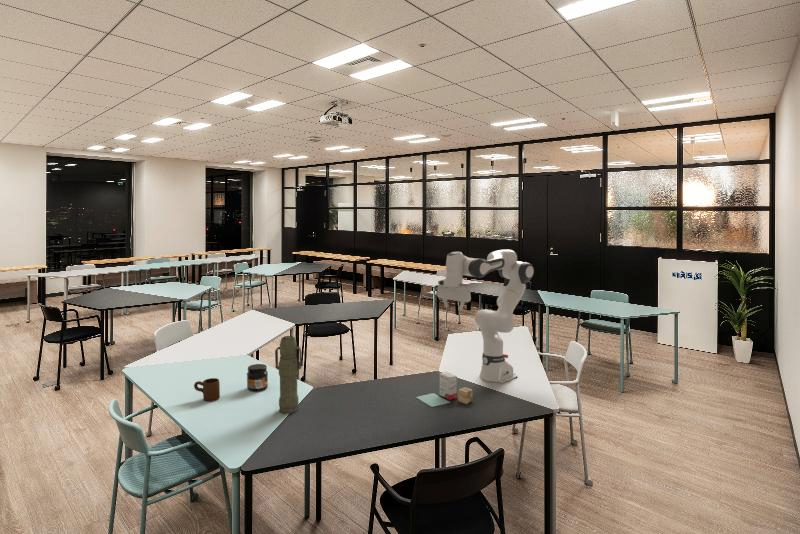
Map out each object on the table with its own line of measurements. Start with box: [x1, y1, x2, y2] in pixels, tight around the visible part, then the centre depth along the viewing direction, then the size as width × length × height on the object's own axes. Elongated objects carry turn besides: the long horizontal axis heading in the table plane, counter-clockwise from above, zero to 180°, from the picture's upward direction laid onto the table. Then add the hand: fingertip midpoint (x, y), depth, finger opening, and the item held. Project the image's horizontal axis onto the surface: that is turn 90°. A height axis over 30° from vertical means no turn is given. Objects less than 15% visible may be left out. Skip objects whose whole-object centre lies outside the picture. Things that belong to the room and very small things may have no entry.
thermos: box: [274, 335, 302, 415], centre depth 213 cm, size 9×12×35 cm
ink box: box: [439, 371, 458, 401], centre depth 233 cm, size 9×5×12 cm, turn 34°
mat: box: [415, 392, 451, 408], centre depth 229 cm, size 11×14×1 cm
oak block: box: [457, 386, 473, 405], centre depth 228 cm, size 5×5×6 cm
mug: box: [193, 377, 221, 403], centre depth 226 cm, size 12×8×9 cm, turn 96°
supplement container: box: [246, 363, 269, 393], centre depth 241 cm, size 10×10×12 cm
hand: (453, 308), depth 241 cm, fingers open, 8 cm apart
